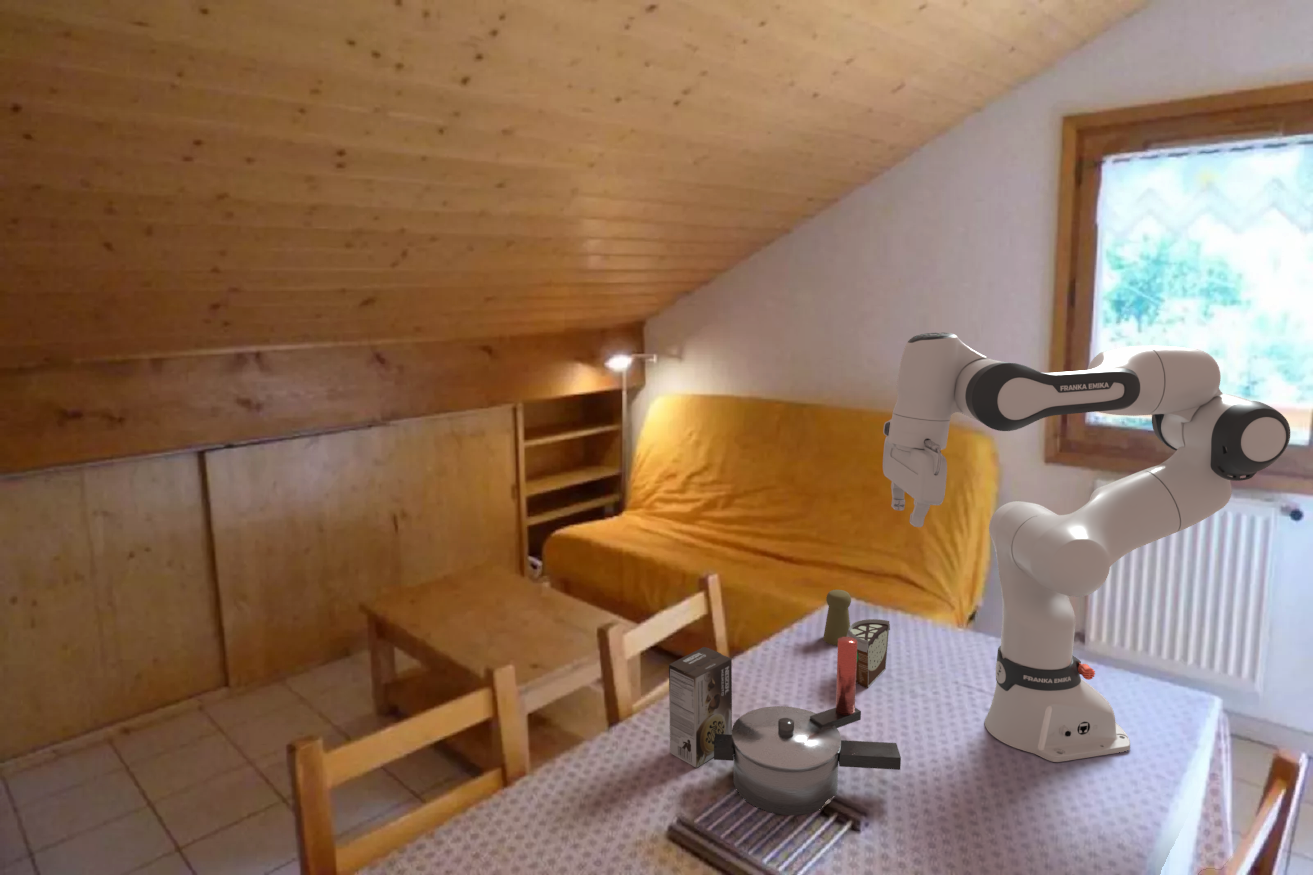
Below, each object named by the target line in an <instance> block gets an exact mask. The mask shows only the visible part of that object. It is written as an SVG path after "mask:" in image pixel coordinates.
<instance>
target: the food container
mask: <svg viewBox="0 0 1313 875" xmlns="http://www.w3.org/2000/svg"><path fill="white" fill-rule="evenodd" d="M890 630H891V623H890V620H886V619H885V620H884V619H878V618H877V619H876V618H874V619H873V618H865V619H860V620H857V621H855V622H853V623H851V624H850V628H849V630H848V633H847V636H846V637H852V638H854V639H856V640H857V664H856V684H857V685H859V686H860V687H863V688H866V689H869V688H870V687H871V686H872V685H873V684H874V682H876V680H878V678H879V677H880V676H881V675H882V674H883V673H884V672H885V670H886V669H887V657H888V647H889V645H888V644H889V634H890Z"/></svg>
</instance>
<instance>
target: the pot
mask: <svg viewBox="0 0 1313 875" xmlns="http://www.w3.org/2000/svg"><path fill="white" fill-rule="evenodd" d="M713 760H714V761H730V762H731V761H732V762H733V785H734V788H735V790H736V789H737V790H736V792H737V791H738V792H739V793H738V792H737V793H738V795H739V794H740V795H741V796H742V797H743V798H744V799H746V800H745V801H746V802H747V801H748V802H749V803H748V802H747V803H748V804H750V805H751V804H752V805H751V806H753V807H755V806H756V807H755V808H757V807H758V808H757V809H759V808H761V809H760V810H762V809H763V810H762V811H764V810H765V811H764V812H769V813H771V812H773V813H772V814H775V815H777V814H778V815H781V816H782V815H784V816H799V815H800V816H802V815H808V814H809V815H810V814H813V813H815V812H818V811H820V810H819V809H821V808H822V806H823V805H824V804H825V802H826V801H827V800H828V799H830V798H832V797H833V796H835V795H836V796H837V793H838V781H839V780H838V779H839V778H838V777H839V767H842V768H860V769H861V768H863V769H878V770H879V769H881V770H895V771H896V770H899V771H901V764H902V763H901V762H902V757H901V754H900V751H899V747H898V744H897V742H882V741H868V740H867V741H866V740H865V741H864V740H863V741H862V740H846V739H845V740H844V739H841V749H840V752H839V754H838V755H837V757H836V758H835V759H834V760H833V761H831V762H830V763H828V764H826V765H824V766H822V767H819V768H816V769H812V770H806V771H781V770H775V769H770V768H766V767H763V766H760V765H758V764H755V763H753V762H751V761H749V760H748V759H746V758H745V757H743V756H742V755H741V754H740V753H739V752H738V751H737V750H736V748H735V747H734V745H733V742H732V735H729V734H715V741H714V757H713ZM740 795H739V796H740ZM741 796H740V797H741ZM836 796H835V797H836ZM742 797H741V798H742ZM743 798H742V799H743ZM744 799H743V800H744ZM821 810H822V809H821Z"/></svg>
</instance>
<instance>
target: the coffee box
mask: <svg viewBox="0 0 1313 875" xmlns="http://www.w3.org/2000/svg"><path fill="white" fill-rule="evenodd" d="M732 664H733V663H732V657H728V656H726V655H724V654H722V653H721V652H718V651H717V650H715V649H714V650H713V649H712V648H709V647H706V646H703V647H701V648H699V649H697V650H694V651H693V652H691V653H689V654H687V655H685V656H683V657H681V658H679V659H676V660H675V661H673V662H671V663H669V664H668V688H669V689H668V690H669V692H668V696H669V697H668V698H669V700H668V701H669V753H670V755H673V756H674V757H676V758H678V759H680V760H682V761H683V762H685V763H686V764H688V765H690V766H692V767H694V768H697V769H698V768H699V767H700V766H702V765H704V764H706V763H707V762H708V761H710V760H712V759H714V741H715V734H729V735H732V728H733V717H732V716H733V696H732V695H733V694H732V692H733V688H732V687H733V686H732V684H733V682H732V681H733V678H732V677H733V672H732V670H733V667H732V666H733V665H732Z"/></svg>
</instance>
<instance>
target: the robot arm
mask: <svg viewBox="0 0 1313 875" xmlns="http://www.w3.org/2000/svg"><path fill="white" fill-rule="evenodd" d="M903 348H904V349H903V352H902V356H901V359H900V363H899V368H898V374H897V380H896V390H897V391H896V392H897V398H896V403H895V405H894V407H893V410H892V415H891V416H892V417H891V418H890V419H889V420H888V421H885V422H884V424H883V430H882V431H883V435H884V436H885V439H884V444H883V454H882V455H883V456H882V471H883V475H884V477H886V478H887V479H888V480H889V481H891V484H890V489H891V497H892V498H891V508H893V510H894V511H900V512H901V511H904V510H905V506H906V500H905V493H907V495H909V496H910V497H911V498H912V499H914V500H913V505H914V507H913V511H912V512H911V513H910V515H909V523H910V525H912V526H913V527H914V528H915V527H916V528H922V527H923V526H924V524H925V517H927V516H926V515H927V514H928V512H929V510H930V509H931V506H941V505H942V503H943V502H944V499H945V494H946V488H947V486H946V485H947V477H948V475H947V474H948V463H947V458H946V457H945V456H944V455H943V454H942V450H945V449H946V448H947V445H948V444H947V443H948V437H949V432H950V431H949V430H950V424H951V418H952V416H953V415H954V414H955V413H959V414H962V415H964V416H966V417H969V418H971V419H973V420H976V421H978V422H980V423H982V424H984V425H985V426H986V427H988V428H990V429H992V430H995V431H999V432H1011V431H1016V430H1020V429H1023V428H1026V427H1027V426H1029V425H1031V424H1033V423H1034V422H1037V421H1039V420H1042V419H1044V418H1047V417H1048V418H1049V417H1052V416H1062V415H1063V416H1064V415H1072V414H1085V413H1093V412H1094V413H1096V412H1097V413H1100V414H1101V413H1102V414H1107V415H1108V414H1109V415H1114V416H1129V417H1132V416H1133V417H1134V416H1151V426H1152V430H1153V432H1154V435H1155V436H1156V438H1157V439H1158V440H1159V441H1160V442H1161V443H1163V444H1164V445H1165V446H1167V447H1168V448H1170V449H1172V450H1174V453H1173V454H1172V455H1171V456H1170V457H1169V458H1167V459H1166V460H1164V461H1163V462H1161V463H1160V464H1157V465H1155V466H1151V467H1148V468H1146V469H1145V468H1144V469H1143V470H1140V471H1137V472H1135V473H1132V474H1130V475H1127V476H1124V477H1122V478H1120V479H1117V480H1114V481H1112V482H1109V483H1106V484H1105V485H1102V486H1099V487H1097V488H1096V489H1094V491H1092V493H1091V494H1090V497H1089V501H1088V502H1087V503H1085V504H1084V505H1083V506H1081V507H1080V508H1079V509H1077V510H1075V511H1073V512H1071V513H1067V514H1057V513H1056V512H1054V511H1053V510H1050V509H1049V508H1047V507H1046V506H1043V505H1041V504H1038V503H1035V502H1030V501H1029V502H1028V501H1021V500H1020V501H1018V500H1017V501H1015V500H1014V501H1010V502H1007V503H1005V504H1003V505H1001V506H1000V507H998V508H997V509H996V510H995V512H994V513H993V514H992V516H991V518H990V521H989V525H988V526H989V527H988V532H989V536H990V538H991V542H992V544H993V547H994V551H995V555H996V557H995V558H996V563H997V571H998V576H999V582H1000V583H999V584H1000V592H1001V600H1002V622H1001V632H1000V633H1001V634H1000V636H1001V637H1000V645H999V646H998V648H997V656H996V662H995V682H996V683H995V688H994V693H993V698H992V700H991V704H990V708H989V710H988V712H987V714H986V717H985V719H984V726H985V728H986V730H987V731H988V732H989V734H991V735H992V736H993V737H994V738H995V739H997V740H998V741H1000V742H1002V743H1003V744H1005V745H1008V746H1010V747H1011V748H1014V749H1018V750H1020V751H1024V752H1028V753H1031V754H1033V755H1036V756H1039V757H1041V758H1043V759H1044V760H1047V761H1049V762H1052V763H1053V762H1054V763H1061V762H1069V761H1073V760H1081V759H1086V758H1093V757H1100V756H1105V755H1106V756H1107V755H1112V754H1118V753H1119V752H1120V753H1125V752H1124V751H1126V752H1128V751H1127V750H1129V751H1130V750H1131V740H1130V738H1129V736H1128V734H1127V733H1126V732H1125V730H1124V729H1123V727H1121V726H1120V725H1119V724H1118V723H1117V722H1116V716H1115V712H1114V710H1113V707H1112V705H1111V704H1110V702H1109V700H1107V699H1106V697H1104V695H1103V694H1102V693H1101V692H1099V691H1098V690H1097V689H1096V688H1094V687H1093V686H1092V685H1090V683H1088V682H1087V681H1085V680H1092V679H1093V678H1094V677H1095V675H1096V671H1095V670H1094V669H1093V668H1092V667H1091V666H1090V665H1088V664H1087V663H1082V661H1081V660H1080V659H1079V658H1078V657H1076V656H1074V655H1073V650H1074V643H1075V642H1074V641H1075V631H1076V630H1075V629H1076V614H1075V611H1074V608H1073V606H1072V603H1071V600H1070V598H1069V597H1071V598H1074V597H1075V598H1078V597H1079V598H1080V597H1081V598H1082V597H1085V596H1088V595H1090V594H1091V595H1092V593H1094V592H1096V591H1098V590H1099V589H1100V588H1101V587H1102V586H1103V585H1104V583H1105V581H1106V580H1107V579H1108V576H1109V574H1110V573H1109V572H1110V570H1111V566H1113V565H1114V564H1115V563H1116V562H1118V560H1120V559H1121V558H1122V557H1124V556H1126V555H1127V554H1128V553H1130V552H1132V551H1135V550H1137V549H1139V548H1141V547H1143V546H1146V545H1149V544H1151V543H1153V542H1156V541H1158V540H1162V539H1163V538H1165V537H1168V536H1171V535H1173V534H1176V533H1178V532H1180V531H1183V530H1186V529H1189V527H1192V526H1195V525H1196V524H1198V523H1200V522H1202V521H1204V520H1205V519H1207V518H1209V517H1210V516H1212V515H1214V514H1215V513H1217V512H1219V511H1220V510H1222V509H1223V508H1225V507H1226V505H1227V504H1228V503H1229V502H1230V499H1231V496H1232V493H1233V492H1232V491H1233V490H1232V489H1233V488H1232V483H1231V481H1234V482H1241V481H1246V480H1250V479H1252V478H1253V477H1254V476H1255V474H1257V473H1258V472H1260V471H1263V470H1265V469H1267V468H1268V467H1270V466H1271V465H1272V464H1274V463H1275V462H1276V461H1277V460H1278V459H1279V458H1281V456H1283V453H1284V452H1285V451H1286V449H1287V447H1288V445H1289V444H1290V440H1291V426H1290V424H1289V422H1288V420H1287V418H1286V417H1285V416H1284V415H1283V414H1282V413H1281V412H1279V411H1278V410H1277V409H1275V408H1273V407H1272V406H1270V405H1269V404H1266V403H1263V402H1261V401H1258V400H1257V401H1256V400H1250V399H1247V398H1245V397H1244V398H1243V397H1241V396H1236V395H1232V394H1227V393H1223V391H1221V389H1220V384H1221V371H1220V367H1219V365H1218V362H1217V361H1216V359H1215V358H1214V357H1213V356H1212V355H1210V354H1209V353H1208V352H1205V351H1204V350H1201V349H1196V348H1190V347H1183V346H1172V345H1137V346H1134V345H1133V346H1125V347H1124V346H1123V347H1119V348H1114V349H1110V350H1105V351H1101V352H1099V353H1098V354H1097V355H1096V356H1094V358H1093V359H1091V361H1090V363H1089V364H1088V366H1087V369H1085V370H1084V369H1083V370H1073V371H1070V370H1069V371H1058V372H1057V371H1056V372H1041V371H1038V370H1036V369H1034V368H1031V367H1030V366H1027V365H1024V364H1021V363H1016V362H1005V361H1001V360H996V359H993V358H989V357H987V356H986V355H983V354H982V353H980V352H979V351H977V350H974V349H973V348H971V347H969V345H967V344H965V343H964V341H962V340H961V339H960V338H959V337H958V335H956V334H954V333H952V332H929V333H928V332H926V333H921V334H920V333H919V334H918V335H914V336H913V337H911V338H910V339H909V340H907V342H906V344H905V347H903ZM1081 676H1082V677H1083V678H1084V679H1085V680H1084V679H1083V678H1082V677H1081ZM1120 753H1119V754H1120Z"/></svg>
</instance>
